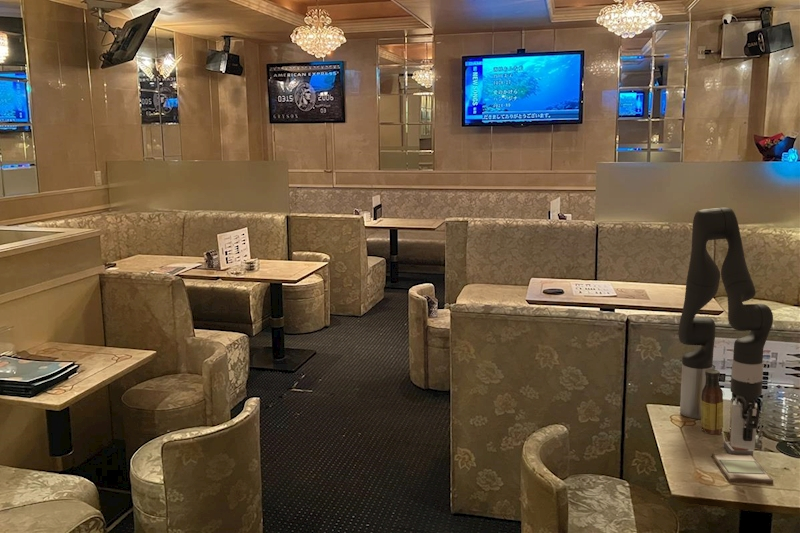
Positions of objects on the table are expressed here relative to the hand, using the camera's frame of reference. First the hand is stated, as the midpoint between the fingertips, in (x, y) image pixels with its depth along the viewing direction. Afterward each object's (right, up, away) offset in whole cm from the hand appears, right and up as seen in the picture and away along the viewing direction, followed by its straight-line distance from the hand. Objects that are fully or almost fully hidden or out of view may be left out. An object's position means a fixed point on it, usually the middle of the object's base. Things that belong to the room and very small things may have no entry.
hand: (743, 435), depth 182 cm
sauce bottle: (+4, -6, +28) cm, 28 cm away
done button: (+5, -7, +12) cm, 15 cm away
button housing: (+5, -8, +12) cm, 16 cm away
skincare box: (0, -3, +1) cm, 3 cm away
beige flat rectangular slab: (0, -10, +2) cm, 10 cm away
